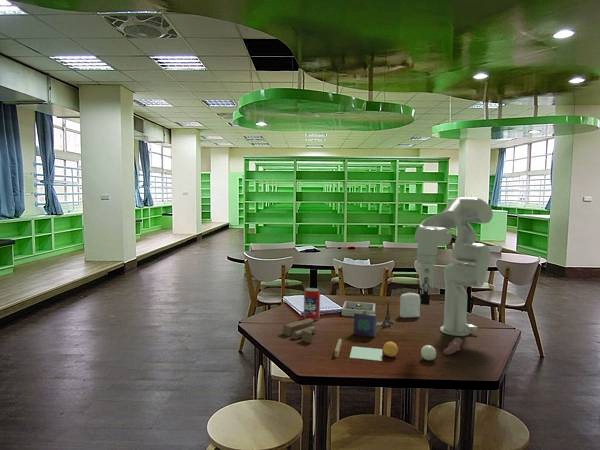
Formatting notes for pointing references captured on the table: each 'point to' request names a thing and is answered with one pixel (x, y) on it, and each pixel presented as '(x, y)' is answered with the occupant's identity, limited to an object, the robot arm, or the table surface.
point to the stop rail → (338, 348)
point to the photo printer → (409, 305)
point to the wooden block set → (300, 329)
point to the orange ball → (390, 349)
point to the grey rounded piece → (358, 306)
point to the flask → (365, 324)
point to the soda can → (312, 303)
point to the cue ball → (428, 352)
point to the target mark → (366, 353)
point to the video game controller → (453, 346)
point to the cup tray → (353, 305)
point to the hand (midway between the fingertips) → (424, 301)
